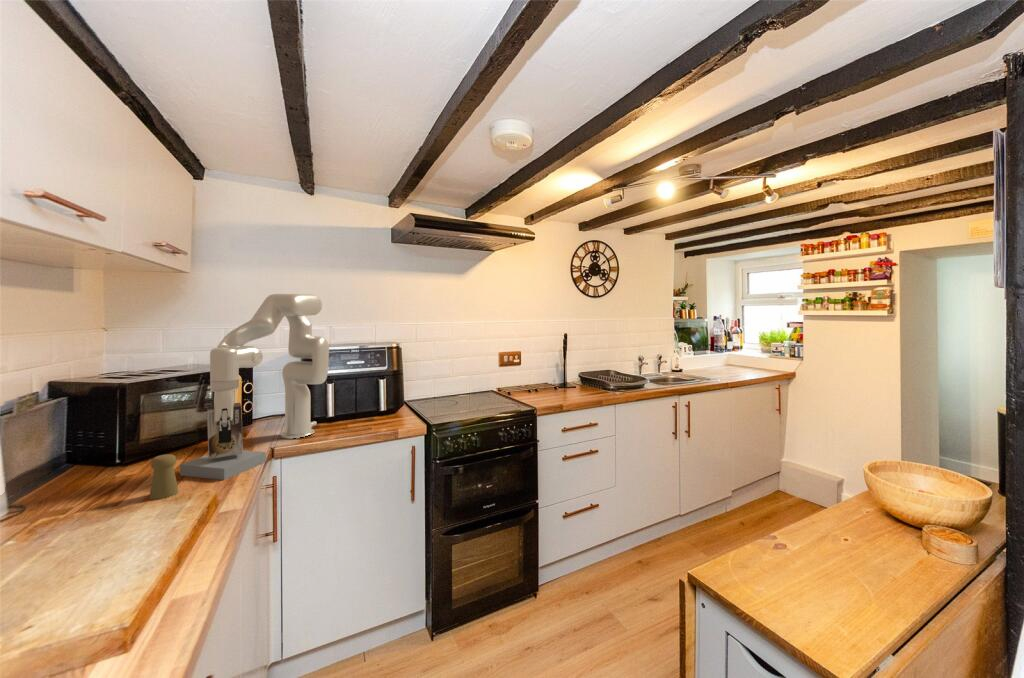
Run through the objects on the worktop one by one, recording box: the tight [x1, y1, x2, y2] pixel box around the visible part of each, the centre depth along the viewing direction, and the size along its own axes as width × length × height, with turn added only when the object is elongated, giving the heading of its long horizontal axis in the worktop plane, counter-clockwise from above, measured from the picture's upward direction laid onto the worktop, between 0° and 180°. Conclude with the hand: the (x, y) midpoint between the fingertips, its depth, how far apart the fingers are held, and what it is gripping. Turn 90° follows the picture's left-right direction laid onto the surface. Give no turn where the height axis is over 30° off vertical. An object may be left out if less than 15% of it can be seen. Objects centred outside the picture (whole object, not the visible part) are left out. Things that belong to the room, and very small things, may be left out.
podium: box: [179, 449, 267, 481], centre depth 128 cm, size 16×16×4 cm
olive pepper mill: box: [149, 453, 179, 500], centre depth 108 cm, size 6×6×11 cm
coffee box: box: [206, 402, 244, 459], centre depth 128 cm, size 9×6×16 cm
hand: (225, 439), depth 128 cm, fingers closed on coffee box, 6 cm apart
